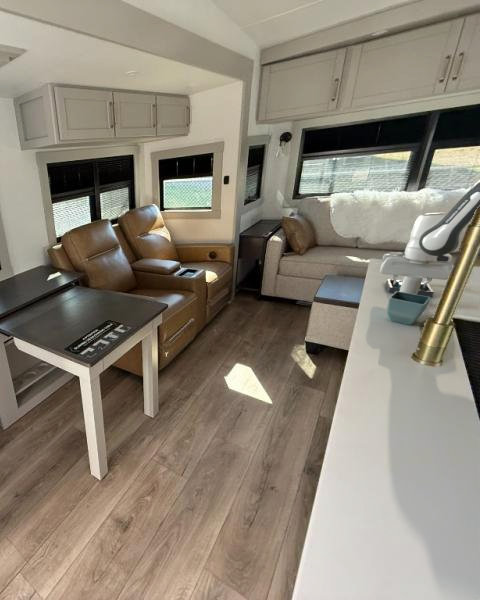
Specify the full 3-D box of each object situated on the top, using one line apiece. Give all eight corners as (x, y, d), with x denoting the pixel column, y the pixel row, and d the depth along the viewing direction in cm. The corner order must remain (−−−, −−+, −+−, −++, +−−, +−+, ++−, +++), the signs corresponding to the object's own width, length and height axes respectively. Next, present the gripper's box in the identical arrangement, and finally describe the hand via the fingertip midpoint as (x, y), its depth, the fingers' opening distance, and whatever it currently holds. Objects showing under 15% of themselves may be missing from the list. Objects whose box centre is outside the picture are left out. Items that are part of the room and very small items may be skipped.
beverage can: (391, 304, 122) (401, 275, 117) (402, 303, 122) (412, 273, 118) (404, 309, 118) (415, 279, 113) (416, 307, 118) (427, 277, 113)
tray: (426, 288, 132) (428, 282, 131) (431, 298, 124) (433, 292, 123) (385, 284, 140) (387, 278, 139) (388, 293, 131) (389, 287, 130)
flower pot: (380, 320, 112) (388, 297, 108) (388, 313, 116) (396, 290, 112) (415, 329, 105) (424, 304, 101) (422, 320, 109) (431, 297, 106)
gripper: (385, 253, 129) (375, 284, 135) (459, 258, 118) (445, 292, 123) (383, 249, 134) (374, 280, 139) (455, 254, 122) (441, 287, 127)
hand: (408, 286), depth 131 cm, fingers closed on ring, 6 cm apart
